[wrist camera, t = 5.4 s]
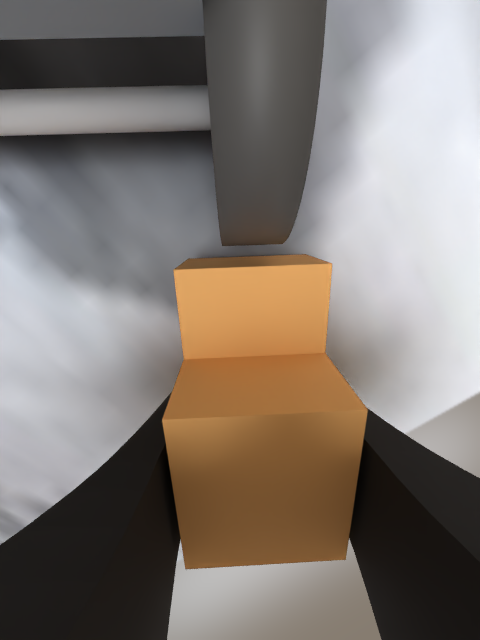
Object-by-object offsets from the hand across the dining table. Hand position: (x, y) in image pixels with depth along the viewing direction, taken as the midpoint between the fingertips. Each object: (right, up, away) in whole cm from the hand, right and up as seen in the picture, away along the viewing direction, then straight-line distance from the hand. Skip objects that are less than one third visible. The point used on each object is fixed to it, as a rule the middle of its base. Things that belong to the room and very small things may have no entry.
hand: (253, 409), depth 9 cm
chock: (0, +2, +1) cm, 2 cm away
